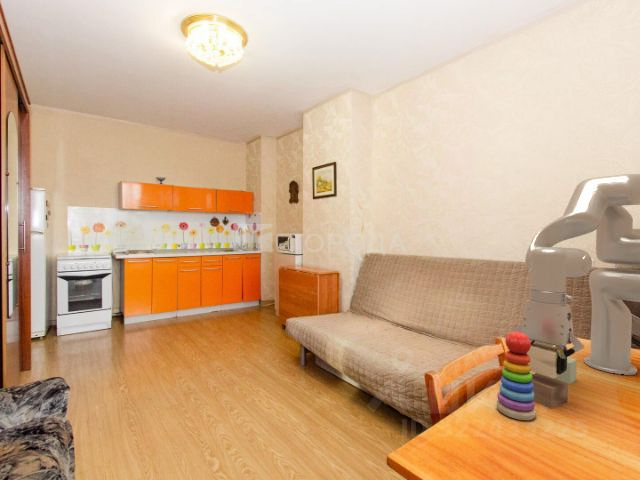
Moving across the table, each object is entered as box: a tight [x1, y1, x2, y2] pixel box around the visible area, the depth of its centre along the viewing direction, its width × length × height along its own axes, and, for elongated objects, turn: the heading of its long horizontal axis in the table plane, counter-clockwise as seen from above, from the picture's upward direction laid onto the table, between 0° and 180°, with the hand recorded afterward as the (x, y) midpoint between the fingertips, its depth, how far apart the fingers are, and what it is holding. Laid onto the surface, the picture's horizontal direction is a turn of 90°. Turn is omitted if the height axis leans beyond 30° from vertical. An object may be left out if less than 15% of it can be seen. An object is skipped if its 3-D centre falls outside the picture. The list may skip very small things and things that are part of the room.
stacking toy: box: [496, 331, 537, 421], centre depth 75 cm, size 8×8×19 cm
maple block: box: [527, 341, 561, 378], centre depth 82 cm, size 6×6×6 cm
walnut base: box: [531, 372, 569, 410], centre depth 82 cm, size 7×7×5 cm
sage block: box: [555, 356, 578, 385], centre depth 94 cm, size 5×5×6 cm
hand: (544, 367), depth 82 cm, fingers closed on maple block, 6 cm apart
